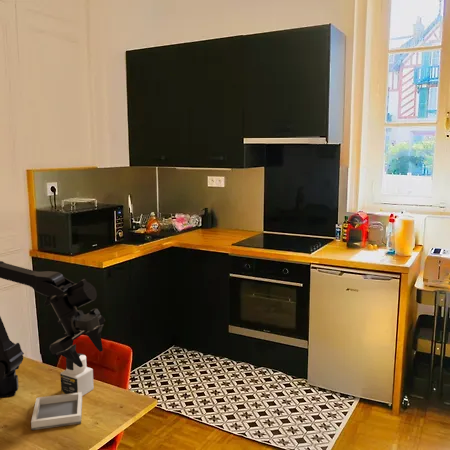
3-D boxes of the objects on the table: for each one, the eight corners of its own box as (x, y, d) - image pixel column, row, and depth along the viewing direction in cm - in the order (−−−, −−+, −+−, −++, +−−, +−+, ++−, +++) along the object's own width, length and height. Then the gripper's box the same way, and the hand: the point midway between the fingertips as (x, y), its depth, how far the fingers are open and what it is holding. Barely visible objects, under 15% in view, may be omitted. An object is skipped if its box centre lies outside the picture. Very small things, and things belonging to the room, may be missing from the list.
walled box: (31, 430, 132) (31, 421, 132) (37, 405, 144) (36, 397, 144) (81, 423, 135) (80, 415, 135) (82, 399, 148) (81, 392, 147)
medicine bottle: (60, 393, 151) (58, 358, 149) (77, 383, 157) (75, 349, 155) (77, 399, 148) (76, 363, 146) (94, 389, 154) (92, 353, 152)
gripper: (62, 319, 130) (89, 369, 132) (105, 292, 147) (128, 337, 148) (37, 329, 136) (63, 378, 137) (81, 302, 152) (104, 346, 153)
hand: (91, 358), depth 144 cm, fingers open, 9 cm apart
